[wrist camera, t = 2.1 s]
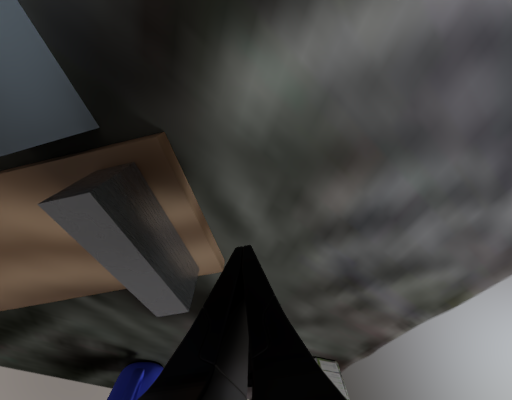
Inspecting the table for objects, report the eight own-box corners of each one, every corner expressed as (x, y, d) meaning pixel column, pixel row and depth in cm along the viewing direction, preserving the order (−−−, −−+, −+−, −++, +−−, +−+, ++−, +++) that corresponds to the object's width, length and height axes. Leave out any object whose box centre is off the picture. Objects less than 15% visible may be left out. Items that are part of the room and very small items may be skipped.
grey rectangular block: (199, 269, 16) (189, 311, 13) (173, 273, 16) (157, 317, 13) (134, 161, 10) (89, 192, 7) (95, 170, 10) (36, 204, 7)
